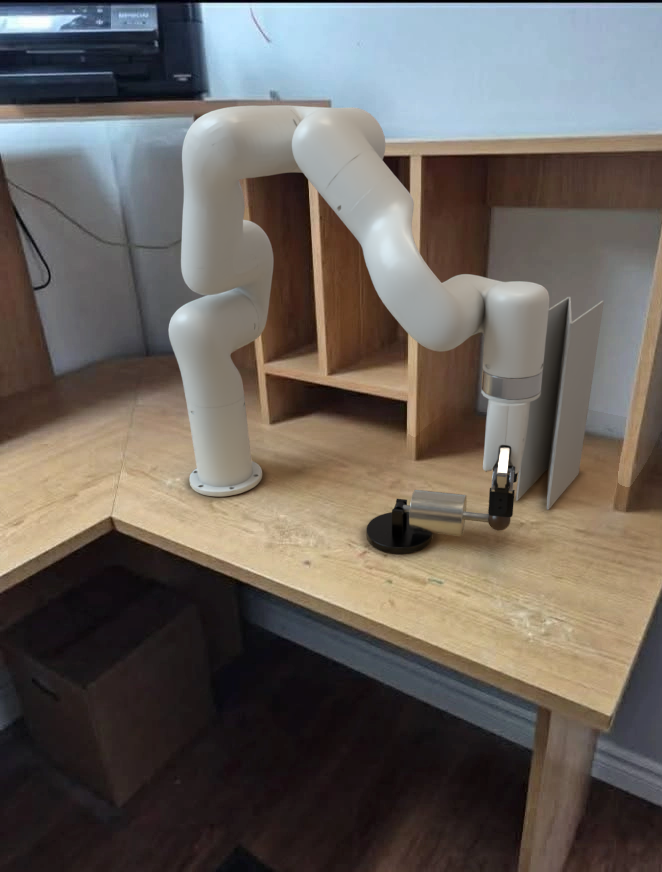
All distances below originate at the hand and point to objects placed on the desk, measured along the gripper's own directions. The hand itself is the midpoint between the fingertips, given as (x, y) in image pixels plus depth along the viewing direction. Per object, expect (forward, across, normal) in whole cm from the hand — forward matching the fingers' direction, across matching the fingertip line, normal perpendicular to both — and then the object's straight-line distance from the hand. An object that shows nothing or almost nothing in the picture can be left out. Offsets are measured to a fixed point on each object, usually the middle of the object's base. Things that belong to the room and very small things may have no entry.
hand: (503, 497), depth 97 cm
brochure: (+9, -20, +7) cm, 23 cm away
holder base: (+8, 0, -15) cm, 17 cm away
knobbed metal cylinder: (+7, 0, -7) cm, 10 cm away
